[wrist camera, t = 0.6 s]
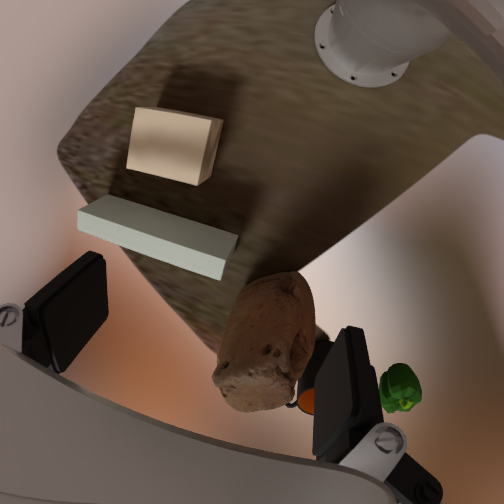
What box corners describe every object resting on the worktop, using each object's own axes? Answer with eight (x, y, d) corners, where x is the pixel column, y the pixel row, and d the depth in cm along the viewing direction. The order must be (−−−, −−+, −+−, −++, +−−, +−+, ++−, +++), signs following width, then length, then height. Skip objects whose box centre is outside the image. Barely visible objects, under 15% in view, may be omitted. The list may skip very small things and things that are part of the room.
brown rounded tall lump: (257, 320, 50) (234, 420, 32) (234, 284, 47) (197, 381, 29) (319, 297, 46) (322, 402, 28) (298, 258, 44) (293, 357, 26)
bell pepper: (395, 390, 53) (403, 428, 44) (367, 378, 52) (373, 419, 43) (423, 364, 49) (436, 403, 40) (396, 351, 49) (407, 392, 40)
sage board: (108, 194, 44) (77, 210, 37) (238, 235, 44) (225, 260, 37) (106, 211, 45) (77, 229, 38) (233, 253, 45) (220, 280, 38)
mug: (273, 361, 53) (266, 405, 44) (330, 332, 49) (333, 378, 39) (299, 384, 55) (296, 427, 46) (353, 360, 51) (358, 404, 41)
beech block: (157, 107, 38) (135, 107, 32) (224, 119, 37) (211, 120, 32) (147, 160, 41) (126, 168, 36) (211, 176, 41) (197, 185, 35)
